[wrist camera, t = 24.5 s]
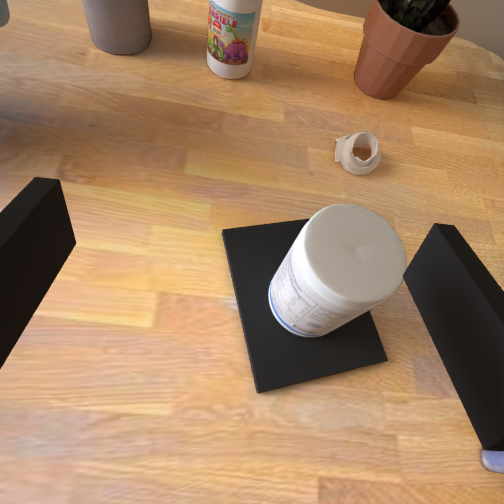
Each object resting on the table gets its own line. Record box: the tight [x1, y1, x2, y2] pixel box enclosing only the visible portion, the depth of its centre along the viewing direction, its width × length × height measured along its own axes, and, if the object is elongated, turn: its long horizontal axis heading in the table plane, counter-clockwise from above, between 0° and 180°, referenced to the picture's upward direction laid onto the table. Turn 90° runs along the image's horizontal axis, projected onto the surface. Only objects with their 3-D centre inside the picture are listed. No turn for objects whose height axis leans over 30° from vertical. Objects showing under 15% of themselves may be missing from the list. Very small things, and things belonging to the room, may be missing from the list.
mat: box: [222, 219, 388, 393], centre depth 42 cm, size 20×16×1 cm
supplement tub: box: [269, 204, 407, 337], centre depth 35 cm, size 10×10×15 cm
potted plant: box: [354, 0, 460, 99], centre depth 52 cm, size 14×14×25 cm
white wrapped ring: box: [335, 131, 381, 175], centre depth 52 cm, size 8×7×5 cm
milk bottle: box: [207, 0, 263, 79], centre depth 50 cm, size 8×8×20 cm
